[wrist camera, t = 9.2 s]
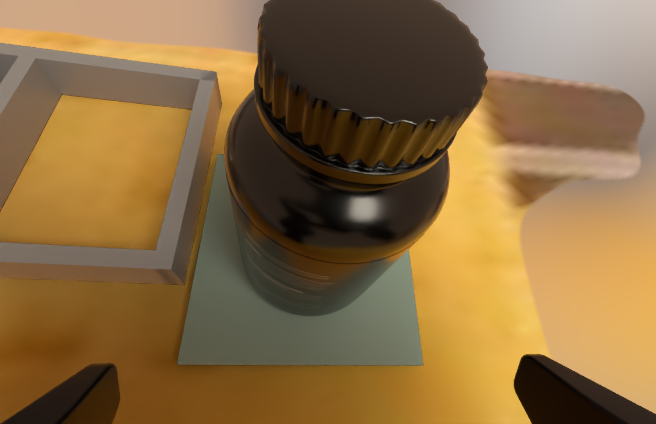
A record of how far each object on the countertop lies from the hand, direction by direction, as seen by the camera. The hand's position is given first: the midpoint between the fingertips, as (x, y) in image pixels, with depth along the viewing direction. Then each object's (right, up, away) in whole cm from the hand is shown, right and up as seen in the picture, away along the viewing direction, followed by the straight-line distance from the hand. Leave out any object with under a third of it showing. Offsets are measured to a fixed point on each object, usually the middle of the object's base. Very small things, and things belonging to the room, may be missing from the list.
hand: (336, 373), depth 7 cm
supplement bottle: (-1, +1, +10) cm, 10 cm away
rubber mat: (-1, +1, +10) cm, 10 cm away
